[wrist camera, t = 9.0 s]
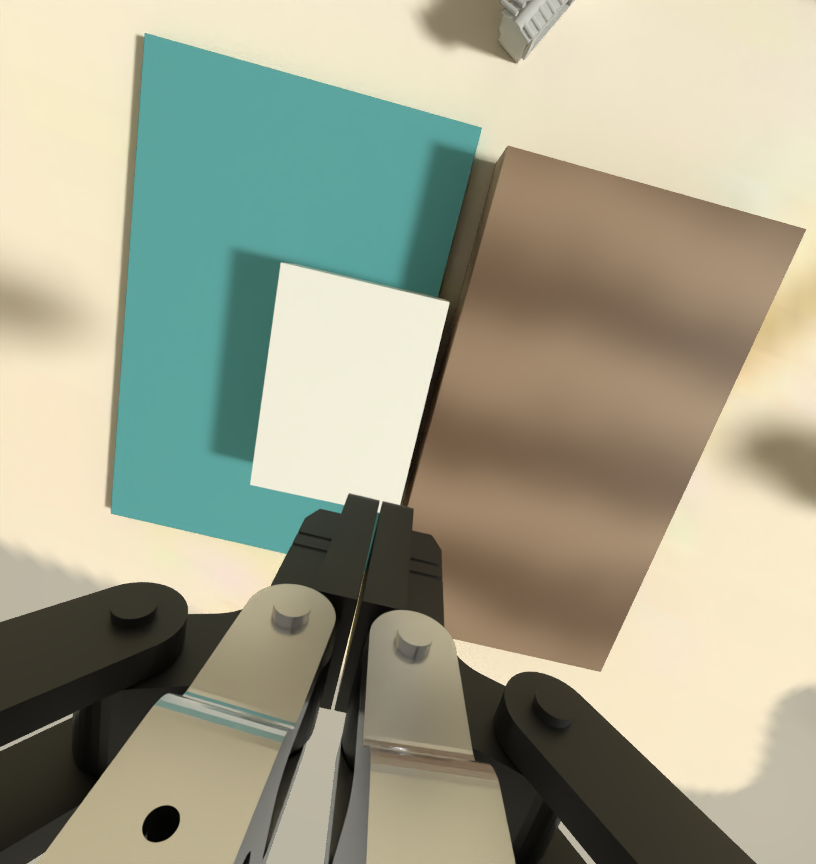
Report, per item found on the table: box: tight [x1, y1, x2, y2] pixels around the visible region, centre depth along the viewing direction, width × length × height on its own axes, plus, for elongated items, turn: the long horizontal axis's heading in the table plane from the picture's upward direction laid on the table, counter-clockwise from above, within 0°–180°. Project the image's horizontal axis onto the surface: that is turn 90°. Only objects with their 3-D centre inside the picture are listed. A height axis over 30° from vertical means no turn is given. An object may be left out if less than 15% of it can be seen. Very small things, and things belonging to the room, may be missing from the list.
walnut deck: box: [403, 146, 806, 672], centre depth 23 cm, size 22×12×3 cm, turn 166°
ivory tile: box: [250, 262, 450, 513], centre depth 23 cm, size 10×7×2 cm
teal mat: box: [111, 33, 482, 572], centre depth 24 cm, size 22×14×1 cm, turn 166°
